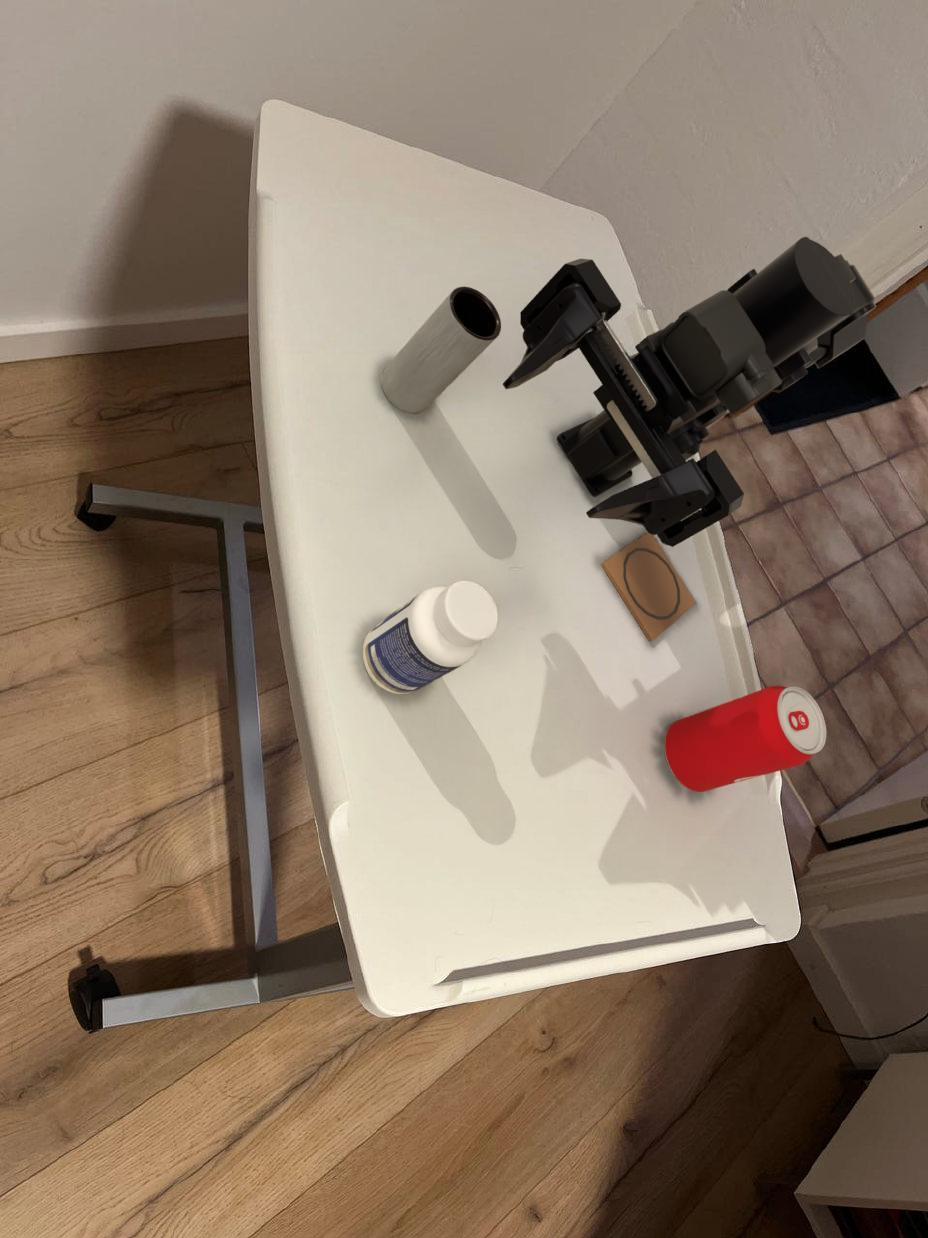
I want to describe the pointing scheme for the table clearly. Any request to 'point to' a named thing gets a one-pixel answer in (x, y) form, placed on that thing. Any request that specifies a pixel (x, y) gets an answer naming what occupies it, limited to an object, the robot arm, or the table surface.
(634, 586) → the square brown coaster
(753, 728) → the beverage can
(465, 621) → the pill bottle
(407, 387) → the grey hollow cylinder
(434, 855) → the table surface
